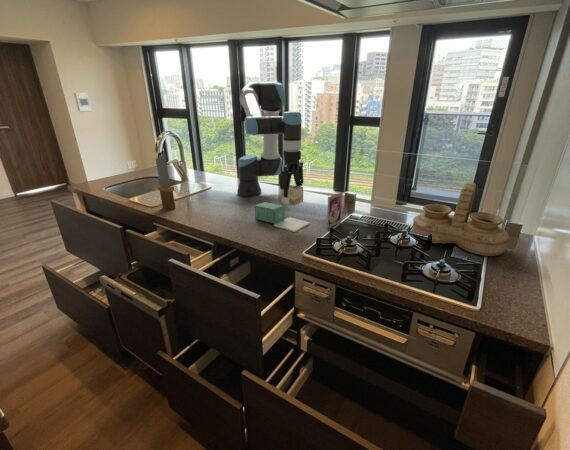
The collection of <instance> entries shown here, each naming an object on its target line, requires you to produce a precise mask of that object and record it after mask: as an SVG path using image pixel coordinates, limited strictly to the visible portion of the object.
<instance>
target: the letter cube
mask: <svg viewBox="0 0 570 450" xmlns="http://www.w3.org/2000/svg"><path fill="white" fill-rule="evenodd" d="M295 185H296V184H294V185H293V184H290V185H289V190H290V204H287V205H289V206H293V207H294V206H297V205H300V204H301V203H304V187H303V186H295ZM280 190H281V204H285V203H284V190H283V189H280ZM285 205H286V204H285Z"/></svg>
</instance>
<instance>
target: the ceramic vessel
mask: <svg viewBox="0 0 570 450" xmlns="http://www.w3.org/2000/svg"><path fill="white" fill-rule="evenodd" d="M476 188H477V184H476V183H474V182H470V181H466V182H465V183H464V184H463V186H462V188H461V190H460V194H459V197H458V199H457V203H456V207H455V211H454V213H453V217H452V216H450V215H449V214H451V213H452V212H453V209H452V207H450V206H448V205H444V204H438V203H429V204H425V205H424V206H423V207H422V210H423V211H424V212H423V213H420V214H418V215H416V216H414V217H413V219H412V220H413V222H412V228H411V232H413V233H415V234H419V235H422V236H428V235H430V234H432V243H431V244H436V243H442V244H449V243H453V244H456V245H457V246H458V247H459V248H460V249H463V250H464V251H466V252H470V253H472V254H477V255H480V256H489V257H492V256H500V255H502V254H504V253H505V251H506V249H507V246H508V241H509V239H510V238H509V237H510V235H509V233H508V232H507V231H506V230H505V229H503V227H500V225H502V224H503V223H504V218H502V217H501V216H499V215H497V214H495V213H489V212H485V211H475V212H472V213H471V211H472V207H473V202H474V199H475V195H476ZM469 218H470V219H471V220H470V221H469ZM413 233H412V234H413Z"/></svg>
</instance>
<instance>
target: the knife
mask: <svg viewBox="0 0 570 450" xmlns="http://www.w3.org/2000/svg"><path fill="white" fill-rule="evenodd" d="M167 162H168V161H167V156H166V153H162V154H161V155H160V156H158V157H157V158H155V163H156V169H157V175H158V180H159V185H157V187H156V188H157V191H159V193H160V194H159V195H160V200H161V207H162V209H166V210H170V211H172V210H175V209H176V204H175V203H176V202H175V197H174V191H175V186H172V185H171V182H170V174H169V168H168V163H167Z"/></svg>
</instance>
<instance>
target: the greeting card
mask: <svg viewBox="0 0 570 450" xmlns="http://www.w3.org/2000/svg"><path fill="white" fill-rule="evenodd" d="M343 194H344V193H343V191H341V192H338V193H335V194H333V195H331V196H329V190H328V192H327V213H326V229H329V228H332V227H333V226H335V225H337V224H339V223H341V220H342V208H343V207H342V206H343Z"/></svg>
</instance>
